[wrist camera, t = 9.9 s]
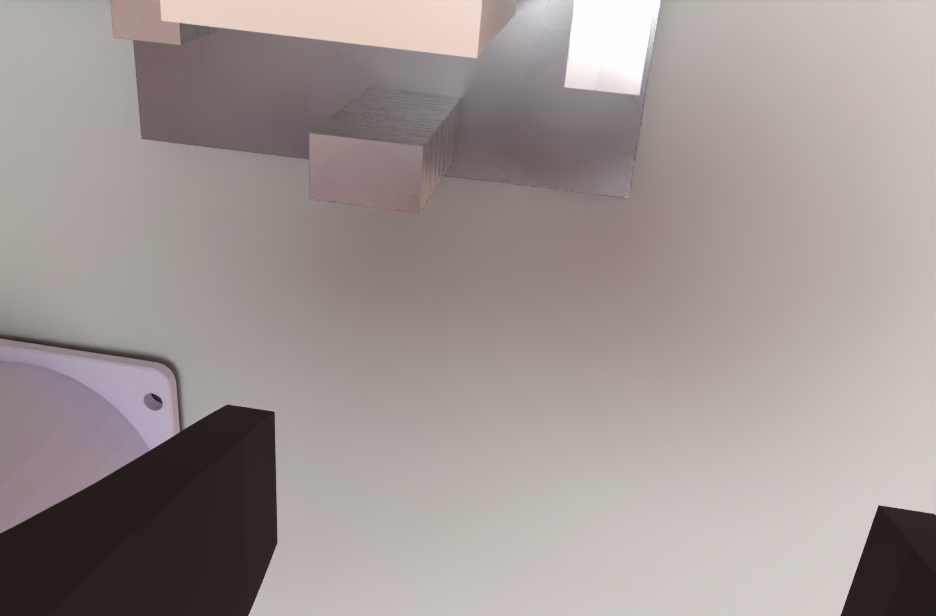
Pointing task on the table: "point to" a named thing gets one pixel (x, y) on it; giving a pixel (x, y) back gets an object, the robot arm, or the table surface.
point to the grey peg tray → (409, 101)
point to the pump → (358, 21)
